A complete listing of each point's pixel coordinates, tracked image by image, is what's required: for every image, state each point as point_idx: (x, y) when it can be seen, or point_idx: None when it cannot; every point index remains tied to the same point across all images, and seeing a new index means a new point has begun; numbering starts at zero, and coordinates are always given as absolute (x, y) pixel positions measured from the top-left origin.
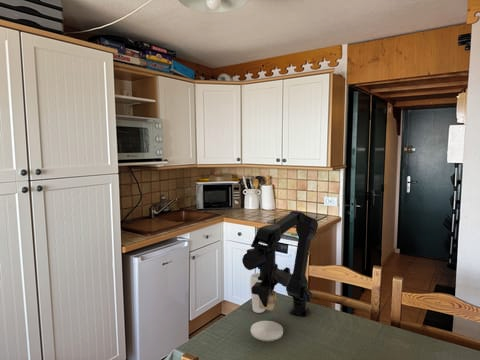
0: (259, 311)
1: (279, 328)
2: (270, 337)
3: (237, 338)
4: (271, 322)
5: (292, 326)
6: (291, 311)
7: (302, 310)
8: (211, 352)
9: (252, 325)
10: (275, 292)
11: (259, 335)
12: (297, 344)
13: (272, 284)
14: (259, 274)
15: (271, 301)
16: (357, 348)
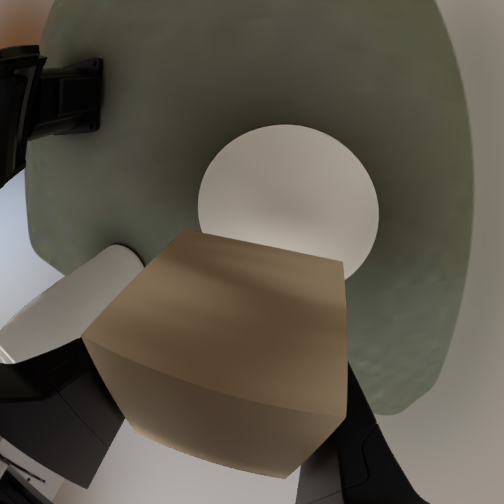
0: (139, 268)
1: (260, 149)
2: (365, 193)
3: (358, 327)
4: (210, 202)
5: (197, 86)
6: (86, 127)
7: (78, 75)
8: (428, 373)
9: None
10: (117, 352)
11: (352, 251)
12: (371, 45)
13: (40, 430)
14: (9, 360)
15: (340, 353)
16: None
